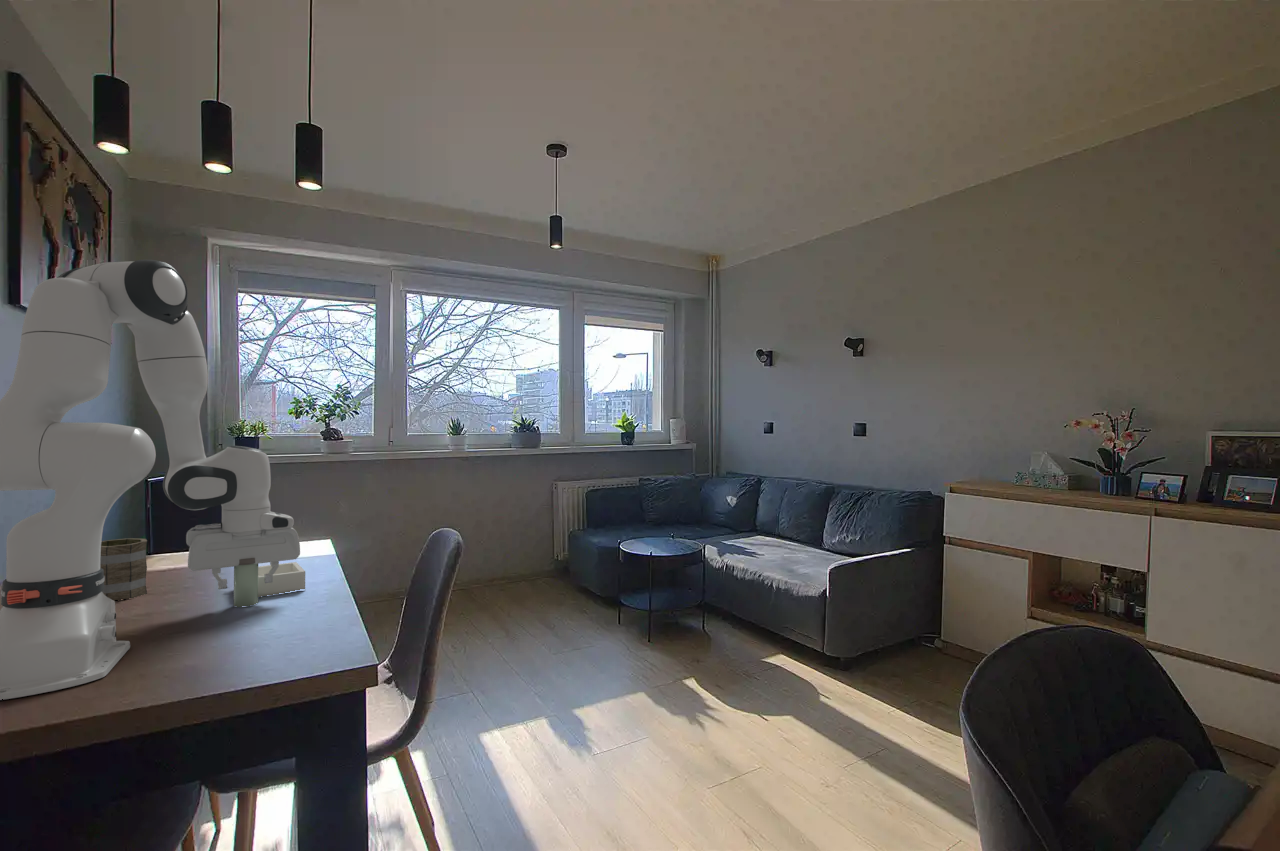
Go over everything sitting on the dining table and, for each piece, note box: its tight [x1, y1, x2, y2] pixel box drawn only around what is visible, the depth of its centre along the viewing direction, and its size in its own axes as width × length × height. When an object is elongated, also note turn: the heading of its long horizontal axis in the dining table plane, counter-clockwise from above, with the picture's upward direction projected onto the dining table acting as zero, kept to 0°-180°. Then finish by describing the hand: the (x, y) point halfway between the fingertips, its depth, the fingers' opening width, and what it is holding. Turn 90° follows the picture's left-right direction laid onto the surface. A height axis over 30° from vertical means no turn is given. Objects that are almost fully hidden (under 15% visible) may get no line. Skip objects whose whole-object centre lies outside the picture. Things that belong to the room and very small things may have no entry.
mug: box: [100, 537, 148, 602], centre depth 137 cm, size 16×11×12 cm
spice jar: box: [233, 558, 259, 608], centre depth 130 cm, size 5×5×10 cm
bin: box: [258, 561, 306, 598], centre depth 142 cm, size 12×12×5 cm
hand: (245, 585), depth 130 cm, fingers open, 7 cm apart
